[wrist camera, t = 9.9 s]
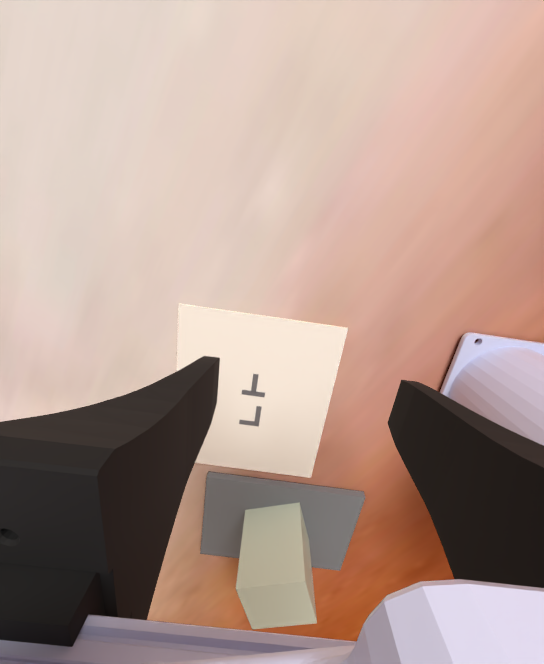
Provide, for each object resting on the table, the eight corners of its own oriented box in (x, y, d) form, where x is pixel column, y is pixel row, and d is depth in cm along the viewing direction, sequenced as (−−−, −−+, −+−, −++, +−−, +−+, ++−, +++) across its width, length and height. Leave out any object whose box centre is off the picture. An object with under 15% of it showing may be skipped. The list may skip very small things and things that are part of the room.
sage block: (299, 502, 25) (305, 581, 19) (309, 540, 27) (316, 623, 21) (245, 509, 26) (235, 588, 20) (257, 546, 27) (252, 629, 22)
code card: (347, 327, 20) (348, 328, 20) (310, 476, 25) (310, 478, 25) (179, 303, 20) (178, 304, 20) (174, 458, 25) (173, 460, 24)
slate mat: (363, 491, 25) (365, 497, 25) (338, 563, 29) (339, 570, 28) (208, 471, 25) (206, 477, 24) (201, 547, 28) (200, 553, 28)
